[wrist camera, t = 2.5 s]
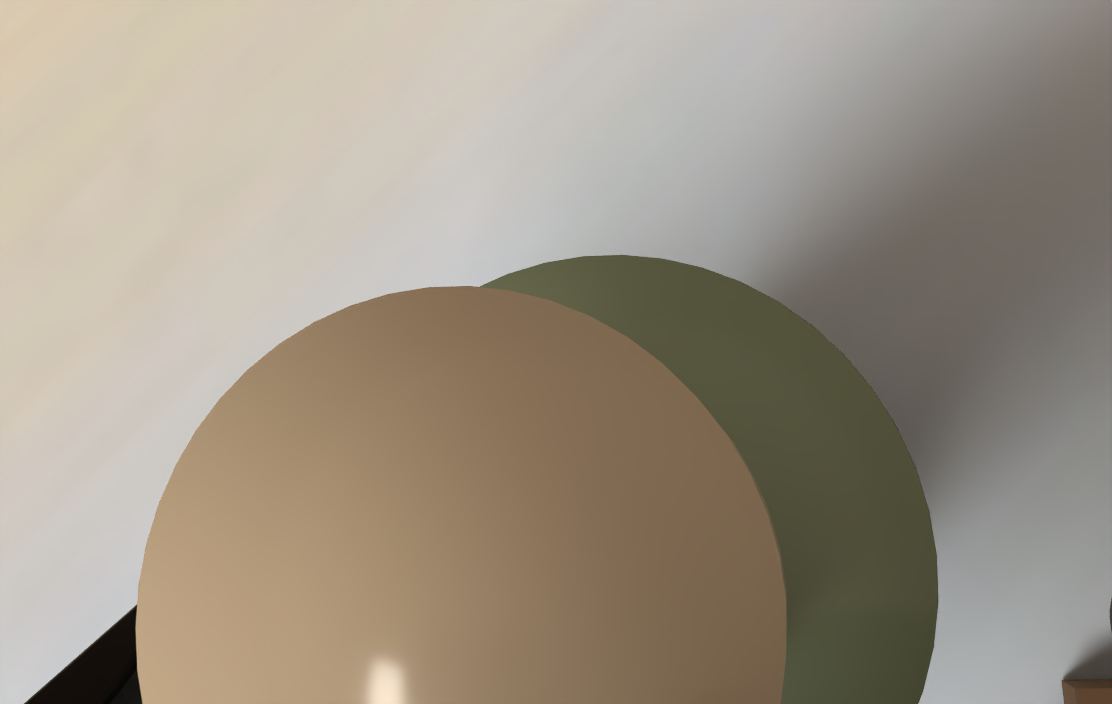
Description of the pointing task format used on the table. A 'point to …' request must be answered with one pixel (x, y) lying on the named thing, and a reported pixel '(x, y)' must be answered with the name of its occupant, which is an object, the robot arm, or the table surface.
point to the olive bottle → (545, 508)
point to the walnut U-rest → (1087, 691)
